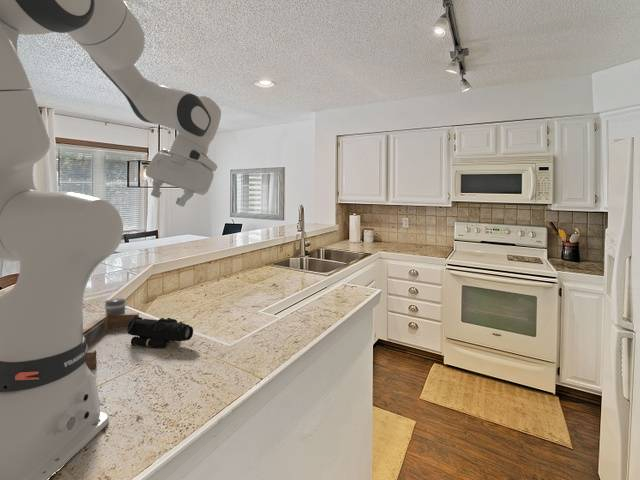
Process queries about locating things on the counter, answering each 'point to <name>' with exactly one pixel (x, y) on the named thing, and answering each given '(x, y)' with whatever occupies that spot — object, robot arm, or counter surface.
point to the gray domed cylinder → (115, 306)
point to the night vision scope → (158, 331)
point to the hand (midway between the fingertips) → (166, 200)
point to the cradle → (101, 326)
